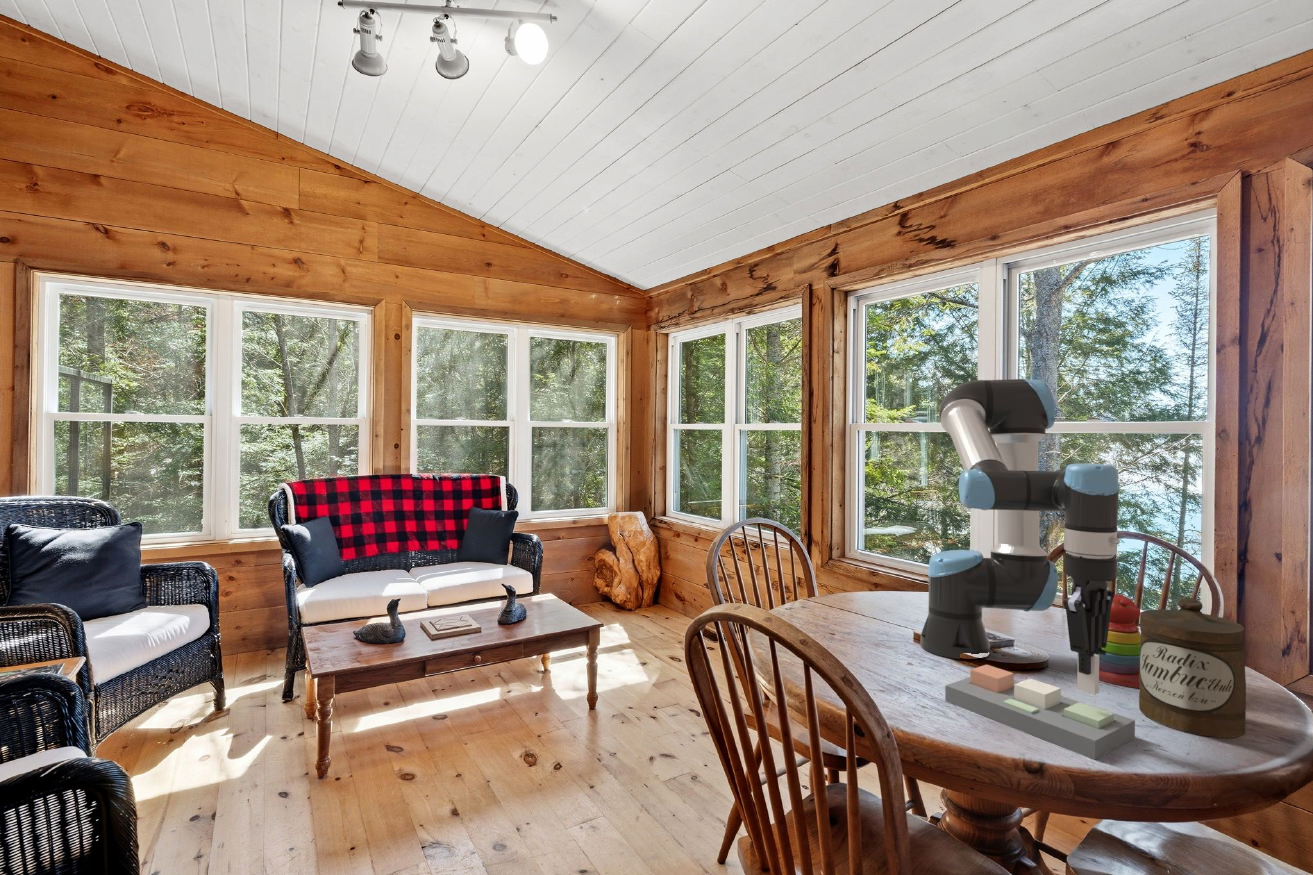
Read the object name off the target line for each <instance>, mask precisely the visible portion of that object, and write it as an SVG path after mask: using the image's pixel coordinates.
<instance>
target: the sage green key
mask: <svg viewBox="0 0 1313 875" xmlns="http://www.w3.org/2000/svg"><path fill="white" fill-rule="evenodd" d="M1078 702H1079V703H1076V704H1074V705H1072V706H1069V707H1067V708H1065V709H1064V717H1066V718H1069V719H1072V720H1074V721H1077V722H1080V723H1083V724H1086V725H1088V726H1091V727H1094V728H1097V729H1102V728H1104V727H1106V726H1108V725H1110V724H1112V723H1114V712H1112V711H1109V712H1108V710H1106V711H1105V709H1103V710H1102V708H1100V709H1098V708H1099V707H1096V706H1093V707H1092V705H1090V704H1087V703H1084V702H1081V701H1078ZM1080 702H1081V703H1080ZM1083 703H1084V704H1083ZM1086 704H1087V705H1086ZM1089 705H1090V706H1089ZM1095 707H1096V708H1095ZM1111 712H1112V713H1111Z"/></svg>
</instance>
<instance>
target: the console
mask: <svg viewBox="0 0 1313 875" xmlns="http://www.w3.org/2000/svg"><path fill="white" fill-rule="evenodd" d="M970 680H971V676H970V677H967V678H964V679H960V680H958V681H954V682H952V683H948V684H946V685H945V686H944V687H945V688H944V689H945V691H944V692H945V693H944V694H945V695H944V698H945V699H944V700H945V702H947V703H950V704H952V705H955V706H958V707H960V708H963V709H965V710H966V711H967V710H968V711H970V712H973V713H975V714H978V715H980V716H982V717H986V718H988V719H990V720H993V721H995V722H997V723H1000V724H1003V725H1006V726H1008V727H1011V728H1014V729H1016V730H1019V731H1021V732H1023V733H1025V734H1028V735H1031V736H1034V737H1037V738H1038V739H1041V740H1044V741H1047V742H1049V743H1051V744H1055V745H1056V746H1059V747H1061V748H1064V749H1066V750H1068V751H1072V752H1074V753H1076V754H1078V755H1082V756H1084V757H1086V758H1087V757H1088V758H1090V759H1092V760H1097V759H1099V758H1101V757H1103V756H1104V755H1106V754H1108V753H1110V752H1111V751H1113V750H1115V749H1117V748H1119V747H1121V746H1122V745H1124V744H1126V743H1128V742H1130V741H1131V740H1133V739H1135V738H1136V720H1135V719H1132V718H1130V717H1127V716H1123V715H1121V714H1118V713H1116V712H1115V713H1114V712H1112V711H1108V710H1105V709H1102V708H1099V707H1096V706H1092V705H1090V704H1087V703H1084V702H1081V701H1078V700H1075V699H1073V698H1068V697H1065V696H1064V695H1061V704H1059V705H1057V706H1055V707H1052V708H1050V709H1048V710H1043V709H1041V708H1038V707H1035V706H1032V705H1029V704H1026V703H1024V702H1021V701H1018V700H1015V699H1014V688H1012V689H1009V690H1006V691H1004V692H1001V693H995V692H993V691H990V690H987V689H984V688H981V687H979V686H976V685H973V684H970ZM1019 682H1020V681H1018V680H1015V679H1014V684H1017V683H1019ZM1079 702H1080V703H1083V704H1086V705H1089V706H1092V707H1095V708H1098V709H1102V710H1105V711H1108V712H1111V713H1114V723H1112V724H1110V725H1108V726H1106V727H1104V728H1102V729H1097V728H1094V727H1091V726H1088V725H1086V724H1083V723H1080V722H1077V721H1074V720H1072V719H1069V718H1066V717H1064V709H1065V708H1067V707H1069V706H1072V705H1074V704H1076V703H1079Z"/></svg>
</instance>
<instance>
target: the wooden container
mask: <svg viewBox="0 0 1313 875" xmlns="http://www.w3.org/2000/svg"><path fill="white" fill-rule="evenodd" d="M1177 605H1178V607H1180V608H1179V609H1177V610H1176V609H1147V610H1143V611H1140V616H1139V631H1140V634H1141V645H1140V668H1139V688H1138V689H1139V691H1138V692H1139V693H1138V698H1139V699H1138V702H1139V703H1138V706H1139V710H1140V712H1141V713H1142V714H1143V715H1144V716H1145V717H1146V718H1149V719H1150V720H1153V721H1155V722H1156V723H1158V724H1160V725H1163V726H1165V727H1167V728H1172V729H1174V730H1177V731H1180V732H1184V733H1187V734H1188V733H1189V734H1193V735H1199V736H1204V737H1211V738H1227V739H1228V738H1238V737H1240V736H1242V735H1245V732H1246V729H1247V728H1246V727H1247V726H1246V721H1247V719H1246V718H1247V716H1246V709H1247V688H1246V687H1247V684H1246V681H1247V680H1246V677H1247V676H1246V657H1245V656H1246V652H1245V651H1246V650H1245V640H1246V639H1245V635H1246V634H1245V627H1244V626H1243V625H1241V624H1240V623H1238V622H1236V621H1234V620H1229V619H1228V618H1224V617H1221V616H1216V615H1212V614H1206V613H1203V612H1202V611H1201V610H1202V609H1203V602H1201V601H1199V600H1198V599H1196V598H1193V597H1183V598H1181V599H1179V600H1178V601H1177Z"/></svg>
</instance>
